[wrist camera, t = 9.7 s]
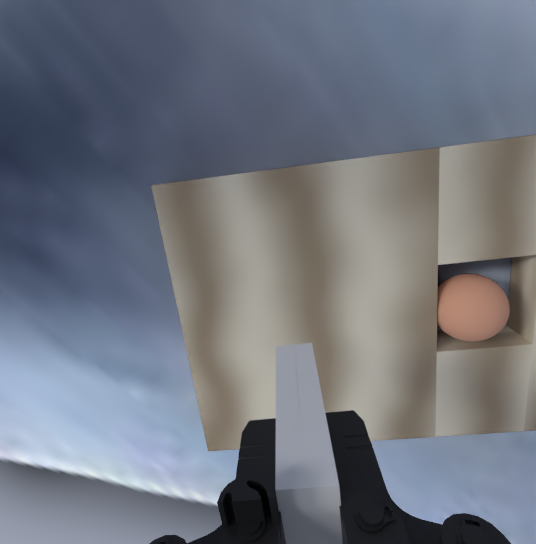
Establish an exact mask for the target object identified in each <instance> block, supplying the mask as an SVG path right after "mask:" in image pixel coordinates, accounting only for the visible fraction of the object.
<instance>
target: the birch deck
mask: <svg viewBox="0 0 536 544" xmlns="http://www.w3.org/2000/svg"><path fill="white" fill-rule="evenodd" d="M151 187H152V192H153V197H154V201H155V206H156V211H157V215H158V220H159V225H160V229H161V234H162V239H163V243H164V248H165V253H166V257H167V262H168V267H169V271H170V276H171V280H172V285H173V290H174V294H175V299H176V304H177V308H178V313H179V318H180V322H181V327H182V332H183V336H184V341H185V346H186V350H187V355H188V360H189V364H190V369H191V373H192V378H193V383H194V387H195V392H196V397H197V401H198V406H199V411H200V415H201V420H202V425H203V429H204V434H205V439H206V443H207V448H208V451H218V450H234V449H240V442H241V435H242V431H243V430H244V428H245V427H246V425H247V423H248V422H249V421H250V420H261V419H272V418H276V346H286V345H295V344H305V343H312V346H313V351H314V357H315V362H316V367H317V372H318V377H319V383H320V388H321V393H322V398H323V403H324V408H325V413H328V412H339V411H350V410H354V411H355V412H356V413H357V414H358V415H359V416H360V417H361V419H362V420H363V421H364V423H365V426H366V429H367V432H368V436H369V438H370V441H376V440H392V439H408V438H424V437H439V436H455V435H471V434H487V433H503V432H518V431H534V430H536V135H529V136H522V137H514V138H506V139H499V140H491V141H484V142H476V143H468V144H461V145H453V146H446V147H438V148H430V149H423V150H415V151H408V152H400V153H392V154H385V155H377V156H369V157H362V158H354V159H347V160H339V161H331V162H324V163H316V164H309V165H301V166H293V167H286V168H278V169H270V170H263V171H255V172H248V173H240V174H232V175H225V176H217V177H210V178H202V179H194V180H187V181H179V182H172V183H164V184H156V185H151ZM510 257H512V262H511V275H510V288H509V306H510V313H509V318H508V320H507V326H504V327H503V329H502V330H501V331H500V332H499V333H497V334H496V335H494V336H493V337H491V338H489V339H486V340H482V341H475V342H471V341H463V340H459V339H456V338H454V337H452V336H450V335H448V334H447V333H445V332H444V331H441V332H437V294H438V265H443V264H452V263H462V262H472V261H481V260H491V259H501V258H510Z"/></svg>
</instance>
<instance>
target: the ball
mask: <svg viewBox="0 0 536 544" xmlns="http://www.w3.org/2000/svg"><path fill="white" fill-rule="evenodd" d="M509 313H510V306H509V301H508V298H507V296H506V294H505V292H504V291H503V289H502V288H501V287H500V286H499V285H498V284H497V283H495V282H494V281H493V280H491V279H489V278H487V277H484V276H481V275H477V274H459V275H456V276H453V277H451V278H448V279H447V280H445V281H444V282H443V283H441V284H440V285H439V286H438V294H437V325H438V326H439V327H440V328H441V329H442V330H443V331H444V332H445V333H447V334H448V335H450V336H452V337H454V338H456V339H459V340H463V341H471V342H475V341H482V340H486V339H489V338H491V337H493V336H494V335H496V334H497V333H499V332H500V331H501V330H502V329H503V327H504V326H505V324H506V323H507V320H508V318H509Z"/></svg>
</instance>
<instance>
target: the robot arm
mask: <svg viewBox="0 0 536 544" xmlns="http://www.w3.org/2000/svg"><path fill="white" fill-rule="evenodd" d="M217 503H218V507H219V512H220V516H221V520H222V525H221V526H220V527H218V528H217V529H216V530H215V531H213V532H212V533H210V534H208V535H207V536H204V537H202V538H199V539H197V540H194V541H192V542H190V543H186V541H185V540H184V539H183V538H181V537H179V536H177V535H165V536H163V537H160V538H158V539H156V540H154V541H152V542H151V543H150V544H511V543H510V542H509V541H508V540H507V539H506V537H505V536H504V535H503V534H502V533H501V532H500V531H499V530H498V529H496V528H495V527H494V526H493V525H492V524H491V523H489V522H487V521H485V520H484V519H482V518H480V517H478V516H474V515H470V514H466V513H462V514H453V515H452V516H450V517H449V518H447V519H446V520H445V521H444V523H443V525H441V524H437V523H433V522H429V521H425V520H421V519H419V518H416V517H413V516H411V515H409V514H408V513H406V512H404V511H403V510H402V509H400V508H399V507H398V506H397V505H396V504H395V503H394V502H393V500H392V499H391V498H390V496H389V494H388V491H387V489H386V486H385V483H384V480H383V477H382V474H381V471H380V468H379V465H378V462H377V459H376V456H375V453H374V450H373V448H372V444H371V441H370V438H369V436H368V432H367V429H366V426H365V423H364V421H363V420H362V419H361V417H360V416H359V415H358V414H357V413H356V412H355V411H354V410H350V411H339V412H328V413H325V408H324V403H323V398H322V393H321V388H320V383H319V377H318V372H317V367H316V362H315V357H314V351H313V346H312V343H305V344H295V345H286V346H276V418H272V419H261V420H250V421H249V422H248V423H247V425H246V427H245V428H244V430H243V431H242V435H241V442H240V450H239V460H238V466H237V473H236V479H235V480H234V481H232V482H230V483H229V484H228V485H227V486H226V487H225V488H224V490H223V491H222V492H221V494H220V497H219V500H218V502H217Z"/></svg>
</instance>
